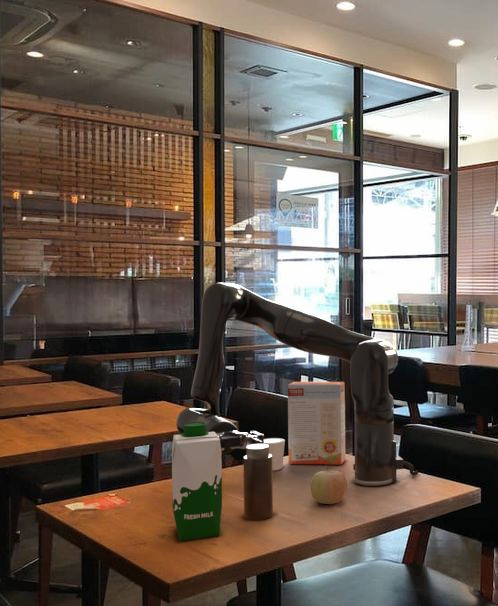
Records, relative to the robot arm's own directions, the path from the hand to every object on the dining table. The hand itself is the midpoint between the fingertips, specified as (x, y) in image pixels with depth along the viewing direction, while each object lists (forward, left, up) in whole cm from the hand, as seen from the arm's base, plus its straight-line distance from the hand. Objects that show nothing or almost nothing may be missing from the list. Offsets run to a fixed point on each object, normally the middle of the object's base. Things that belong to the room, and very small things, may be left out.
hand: (239, 448), depth 150 cm
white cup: (-9, -26, -12) cm, 30 cm away
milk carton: (+9, +17, -12) cm, 22 cm away
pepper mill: (-3, +11, -11) cm, 16 cm away
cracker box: (-21, -28, -12) cm, 37 cm away
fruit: (-18, +7, -12) cm, 22 cm away
